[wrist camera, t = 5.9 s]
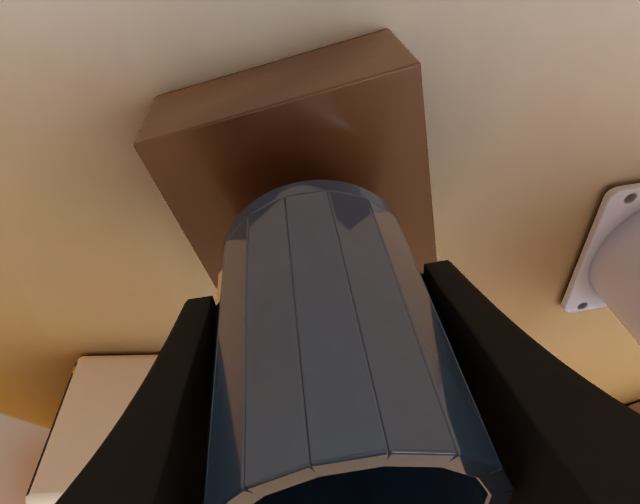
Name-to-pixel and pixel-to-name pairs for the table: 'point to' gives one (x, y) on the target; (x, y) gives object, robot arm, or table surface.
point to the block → (294, 139)
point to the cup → (337, 365)
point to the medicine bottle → (85, 419)
